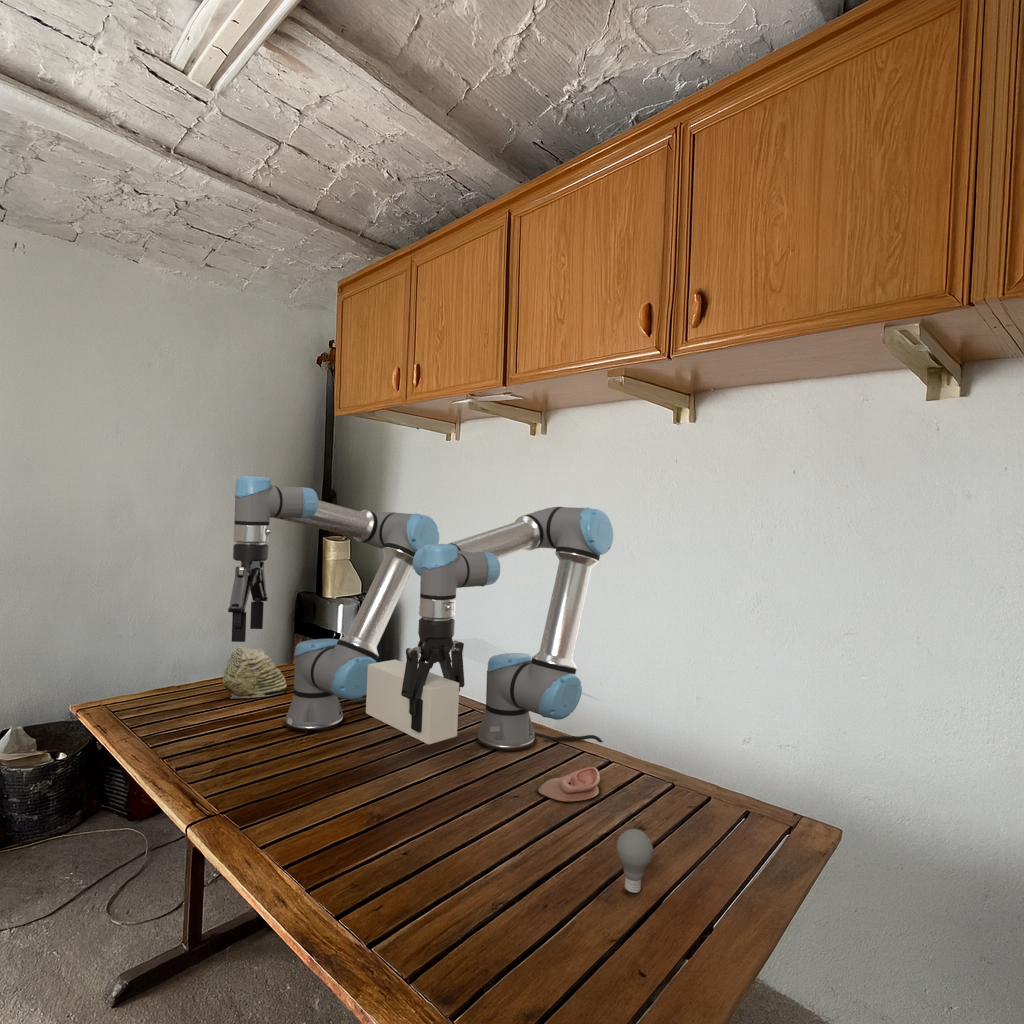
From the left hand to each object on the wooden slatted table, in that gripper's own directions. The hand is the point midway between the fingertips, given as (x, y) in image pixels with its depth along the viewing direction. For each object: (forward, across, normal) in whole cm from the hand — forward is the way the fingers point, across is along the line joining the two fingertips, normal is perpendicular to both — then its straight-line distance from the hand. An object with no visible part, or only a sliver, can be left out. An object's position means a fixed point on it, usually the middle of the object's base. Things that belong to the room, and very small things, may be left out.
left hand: (247, 635), depth 146 cm
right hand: (+14, -18, -43) cm, 49 cm away
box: (+16, -12, -38) cm, 43 cm away
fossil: (+31, +53, +12) cm, 62 cm away
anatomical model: (+31, -14, -74) cm, 81 cm away
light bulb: (+31, -50, -78) cm, 97 cm away
